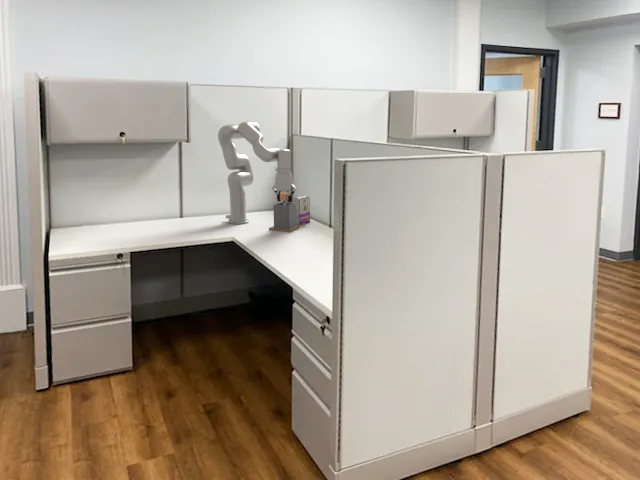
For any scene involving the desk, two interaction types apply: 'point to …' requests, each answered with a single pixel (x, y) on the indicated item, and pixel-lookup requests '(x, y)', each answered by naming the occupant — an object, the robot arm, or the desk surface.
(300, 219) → the candy bar box
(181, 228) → the desk surface
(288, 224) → the press housing
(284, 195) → the plunger
